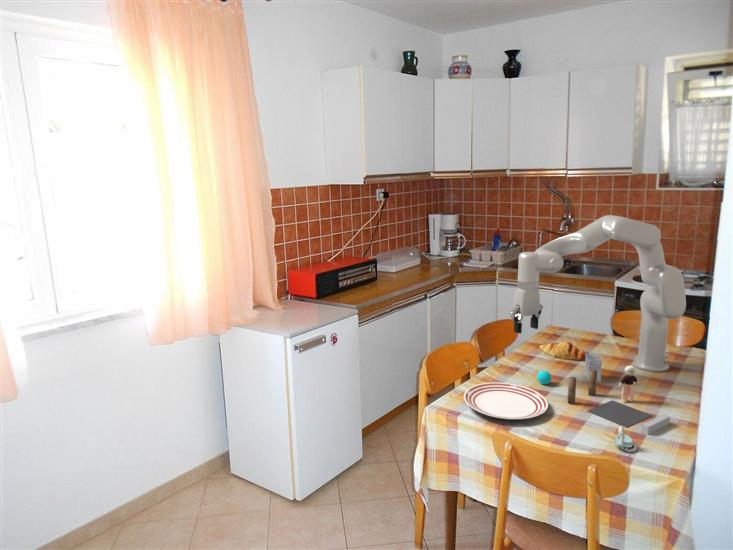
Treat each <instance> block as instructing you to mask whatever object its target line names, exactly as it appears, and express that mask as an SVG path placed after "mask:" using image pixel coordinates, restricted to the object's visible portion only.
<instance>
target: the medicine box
mask: <svg viewBox="0 0 733 550" xmlns="http://www.w3.org/2000/svg"><path fill="white" fill-rule="evenodd" d="M585 353H586V357H585V359H584V360H585V361H584V362H585V363H584V375H585V378H586V379H587V381H588V382H589V374H590V369H595V370H597V381H596V383H601V382H602V367H603V365H602V364H603V361H602V359H601V357H600V355H599V354H598V353H595V352H594V353H593V352H590V353H589V352H588V353H587V352H585Z"/></svg>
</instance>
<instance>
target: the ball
mask: <svg viewBox="0 0 733 550" xmlns="http://www.w3.org/2000/svg"><path fill="white" fill-rule="evenodd" d="M536 377H537V378H536V379H537V382H539V383H540V384H542V385H548V384H549V383H550V382H551V381H552V375H551V372H549V371H547V370H541V371H539V372H538V373H537V375H536Z"/></svg>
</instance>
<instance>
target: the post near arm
mask: <svg viewBox="0 0 733 550" xmlns="http://www.w3.org/2000/svg"><path fill="white" fill-rule="evenodd" d="M596 381H597V370H595V369H590V374H589V381H588V389H587V390H588V393H587V396H590V397H596V394H597V393H596V392H597V382H596Z"/></svg>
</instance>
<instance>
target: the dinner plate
mask: <svg viewBox="0 0 733 550" xmlns="http://www.w3.org/2000/svg"><path fill="white" fill-rule="evenodd" d="M463 400H464V402H465V403H466V404H467V406H469V407H470V408H471V409H473V410H474V411H476V412H477V413H480V414H483V415H486V416H489V417H491V418H496V419H502V420H526V419H532V418H535V417H539V416H541V415H542V414H544V413H545V412H547V410H548V409H549V403H548V401H547V398H546V397H544V395H542V394H541V393H540V392H538V391H536V390H534V389H532V388H529V387H526V386H523V385H519V384H514V383H509V382H500V381H499V382H494V381H492V382H484V383H482V382H481V383H479V384H476V385H472V386H471V387H469V388H468V389H466V390H465V391H464V393H463Z"/></svg>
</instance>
